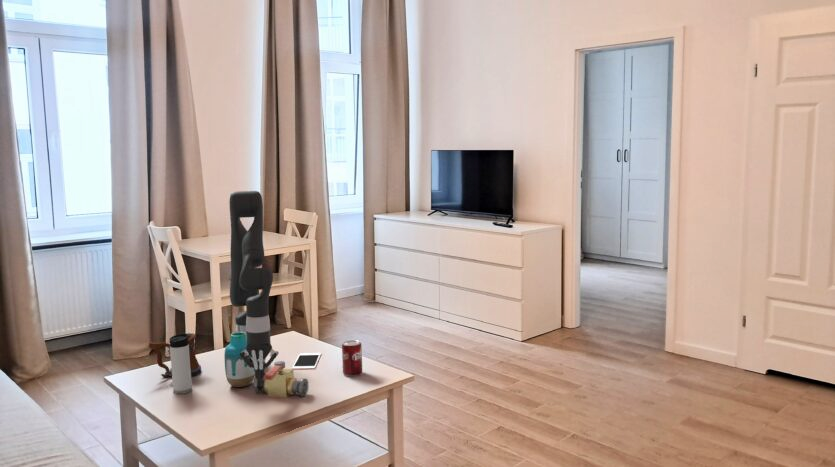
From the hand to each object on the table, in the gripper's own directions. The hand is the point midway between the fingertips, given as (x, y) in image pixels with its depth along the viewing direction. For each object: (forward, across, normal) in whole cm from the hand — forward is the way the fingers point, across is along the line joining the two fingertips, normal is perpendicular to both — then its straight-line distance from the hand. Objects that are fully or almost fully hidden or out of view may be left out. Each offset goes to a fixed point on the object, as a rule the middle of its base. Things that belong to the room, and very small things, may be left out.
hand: (260, 379), depth 217 cm
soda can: (+9, +25, +31) cm, 41 cm away
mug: (+10, -42, +28) cm, 51 cm away
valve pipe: (+9, +4, +11) cm, 15 cm away
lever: (0, +3, +5) cm, 6 cm away
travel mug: (+10, -32, +13) cm, 36 cm away
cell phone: (+10, +5, +44) cm, 45 cm away
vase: (+10, -13, +18) cm, 24 cm away
